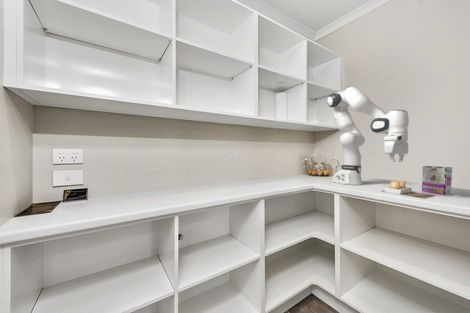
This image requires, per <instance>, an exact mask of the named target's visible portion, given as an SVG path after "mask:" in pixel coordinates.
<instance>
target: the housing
mask: <svg viewBox="0 0 470 313" xmlns="http://www.w3.org/2000/svg"><path fill="white" fill-rule="evenodd" d="M396 181H397V182H400V189H393V188H391V186H385V187H384V190H385V192H384V193H387V192H389V193H388V194H393V193H395V194H394V195H399V194H405V193H409V192H413V191H412V190H413V189H412V187H407V186H406V183H407V182H406V181H405V180H396Z"/></svg>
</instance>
